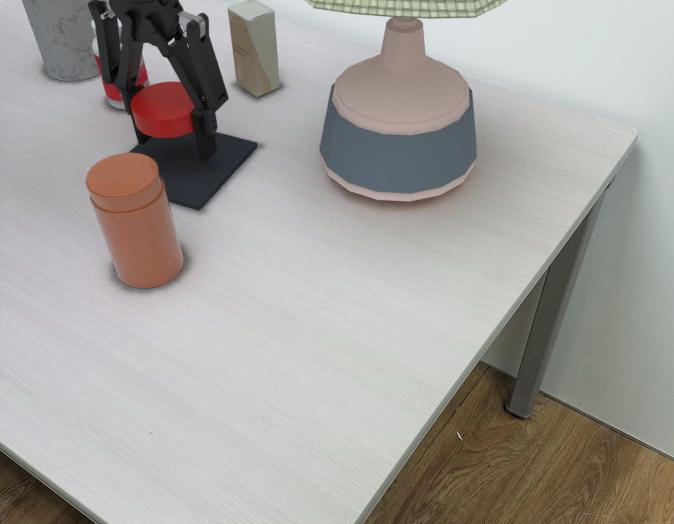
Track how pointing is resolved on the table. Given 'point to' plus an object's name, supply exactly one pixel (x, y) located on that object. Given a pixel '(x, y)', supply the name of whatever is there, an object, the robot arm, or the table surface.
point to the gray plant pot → (64, 37)
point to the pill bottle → (111, 90)
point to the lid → (163, 110)
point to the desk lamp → (401, 108)
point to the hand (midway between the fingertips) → (177, 146)
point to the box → (254, 46)
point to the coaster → (195, 165)
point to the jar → (135, 219)
